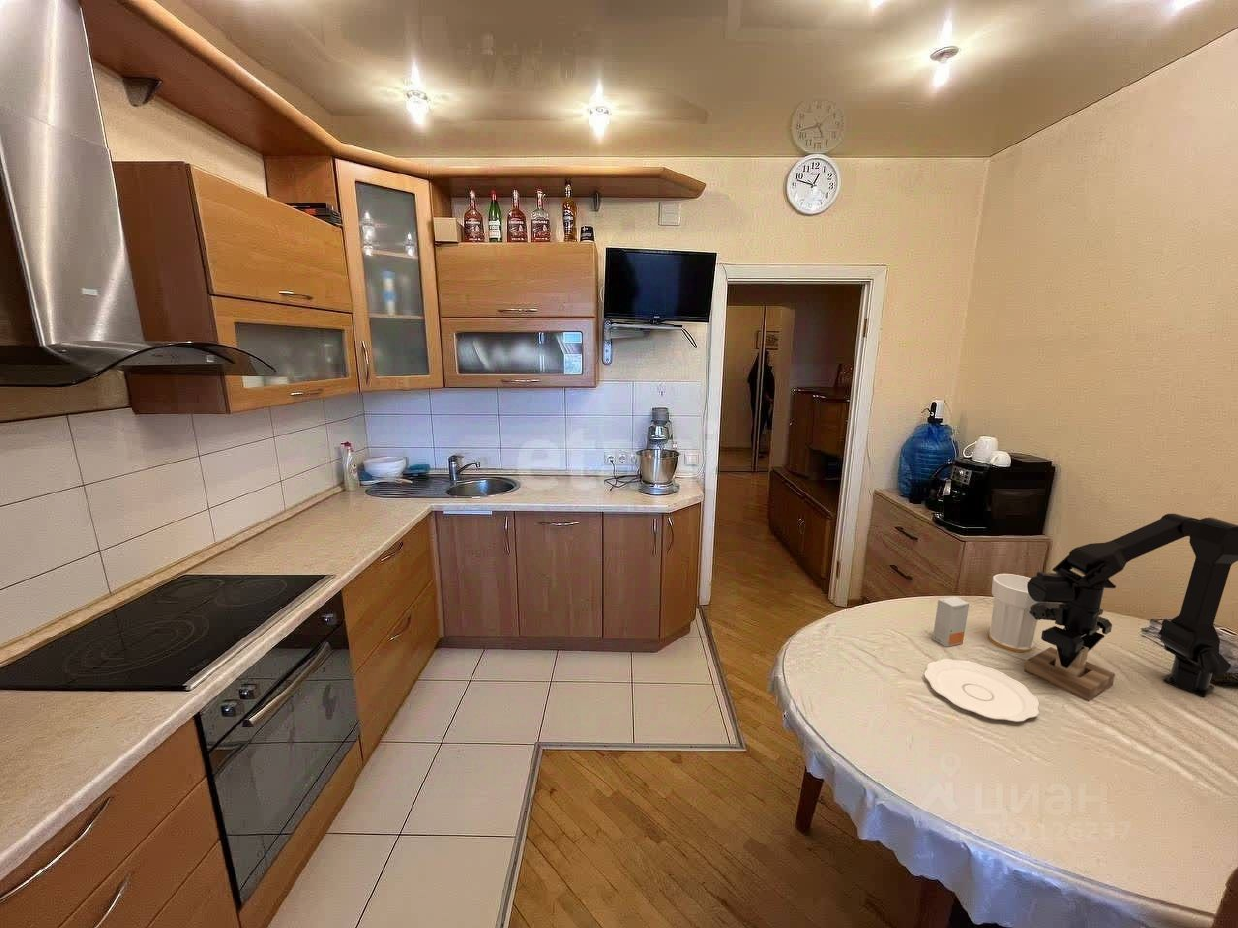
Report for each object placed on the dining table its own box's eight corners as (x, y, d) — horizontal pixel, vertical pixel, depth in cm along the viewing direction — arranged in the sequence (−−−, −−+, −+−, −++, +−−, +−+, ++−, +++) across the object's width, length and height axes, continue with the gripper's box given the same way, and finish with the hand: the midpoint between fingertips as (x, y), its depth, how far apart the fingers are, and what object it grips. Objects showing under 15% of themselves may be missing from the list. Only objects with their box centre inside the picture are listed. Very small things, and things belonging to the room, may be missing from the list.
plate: (1062, 733, 97) (1063, 726, 97) (948, 719, 101) (949, 712, 101) (1003, 670, 117) (1004, 663, 117) (910, 660, 121) (911, 654, 121)
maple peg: (1061, 668, 116) (1067, 639, 114) (1082, 678, 112) (1089, 647, 111) (1053, 673, 114) (1059, 643, 113) (1074, 683, 111) (1081, 652, 109)
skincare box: (946, 647, 126) (952, 606, 124) (932, 639, 130) (937, 598, 128) (964, 644, 128) (970, 603, 125) (949, 635, 132) (955, 595, 129)
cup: (1049, 655, 122) (1061, 592, 119) (1005, 655, 123) (1015, 593, 119) (1014, 630, 133) (1024, 573, 130) (973, 631, 134) (982, 573, 130)
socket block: (1048, 657, 121) (1050, 646, 121) (1112, 684, 111) (1115, 673, 110) (1024, 671, 116) (1026, 660, 116) (1088, 701, 106) (1091, 689, 105)
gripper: (1058, 580, 121) (1048, 635, 124) (1019, 597, 112) (1009, 656, 116) (1118, 599, 111) (1105, 658, 114) (1080, 618, 103) (1068, 682, 106)
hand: (1070, 662), depth 113 cm, fingers open, 6 cm apart
